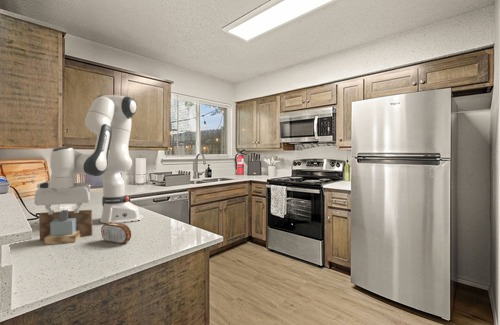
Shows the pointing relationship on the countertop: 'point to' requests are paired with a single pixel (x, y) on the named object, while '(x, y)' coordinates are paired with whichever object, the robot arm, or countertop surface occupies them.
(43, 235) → the brown wooden piece
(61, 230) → the blue block with handle
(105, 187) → the robot arm
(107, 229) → the tin
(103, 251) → the countertop surface
